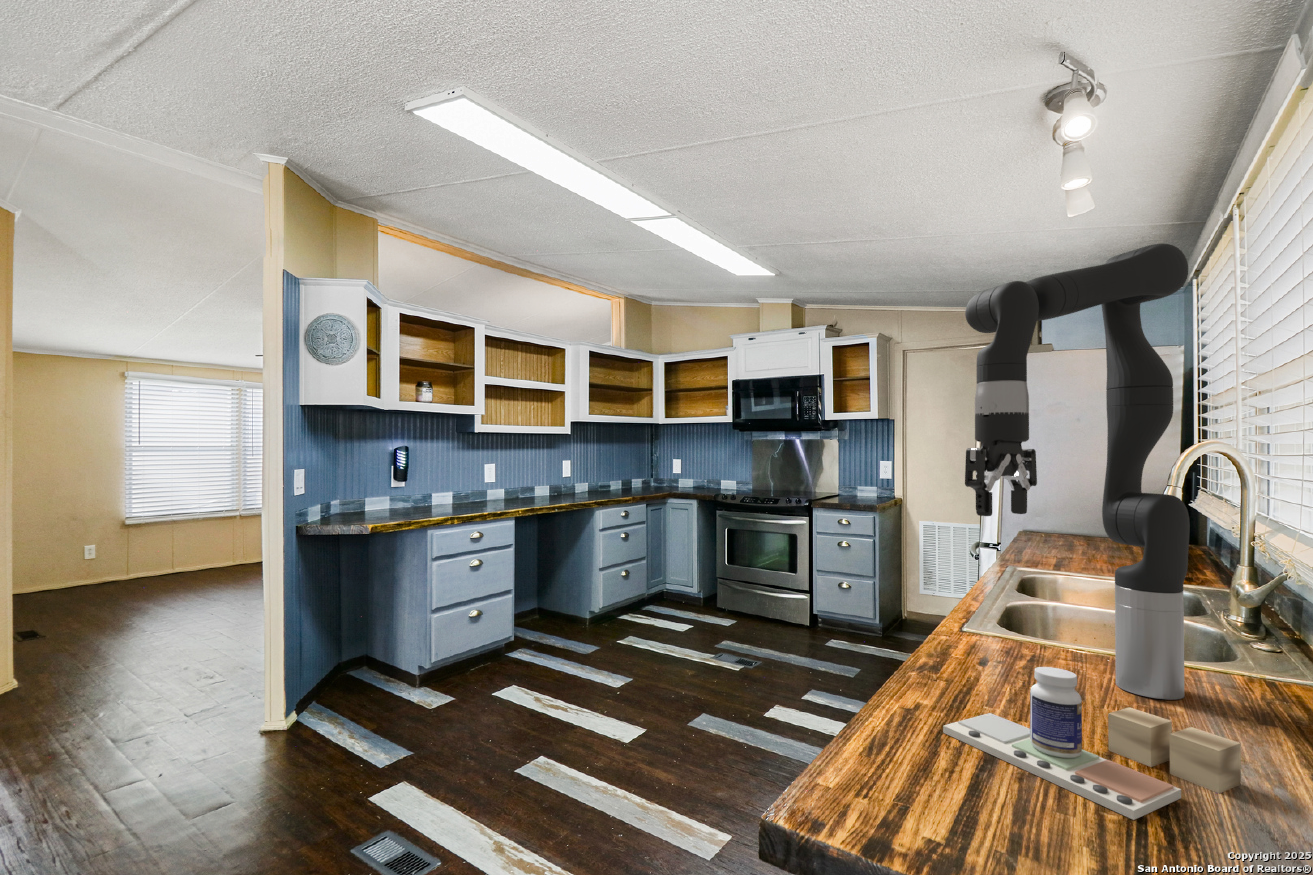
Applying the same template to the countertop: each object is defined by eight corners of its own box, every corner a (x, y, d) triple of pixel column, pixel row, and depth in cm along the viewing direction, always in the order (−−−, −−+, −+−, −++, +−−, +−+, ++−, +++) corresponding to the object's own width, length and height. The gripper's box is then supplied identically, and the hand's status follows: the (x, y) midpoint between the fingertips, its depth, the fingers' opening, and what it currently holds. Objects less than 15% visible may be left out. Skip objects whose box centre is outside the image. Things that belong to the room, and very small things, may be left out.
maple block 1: (1129, 743, 88) (1129, 707, 88) (1172, 759, 83) (1171, 720, 83) (1108, 750, 85) (1108, 713, 85) (1151, 767, 81) (1150, 727, 81)
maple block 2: (1191, 766, 81) (1191, 726, 81) (1240, 784, 77) (1240, 743, 77) (1169, 774, 79) (1169, 733, 79) (1219, 793, 75) (1219, 750, 75)
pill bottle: (1090, 762, 79) (1090, 681, 79) (1040, 757, 80) (1039, 677, 81) (1070, 741, 85) (1069, 666, 85) (1023, 737, 86) (1023, 662, 86)
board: (989, 719, 95) (989, 710, 95) (1181, 797, 73) (1180, 786, 73) (943, 732, 90) (943, 723, 90) (1133, 819, 69) (1133, 807, 69)
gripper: (1007, 414, 107) (1007, 511, 107) (950, 411, 100) (950, 514, 100) (1052, 412, 100) (1053, 515, 100) (994, 408, 94) (994, 518, 93)
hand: (1001, 514), depth 100 cm, fingers open, 8 cm apart
